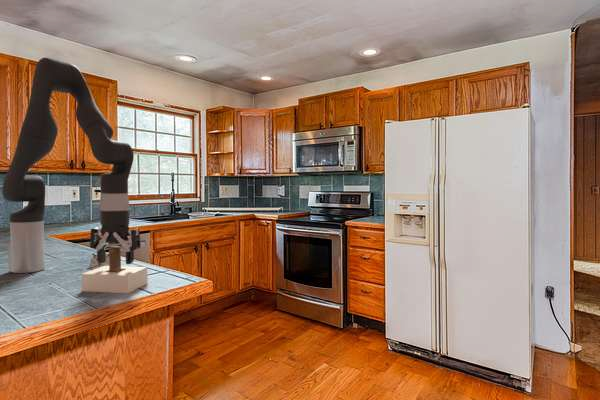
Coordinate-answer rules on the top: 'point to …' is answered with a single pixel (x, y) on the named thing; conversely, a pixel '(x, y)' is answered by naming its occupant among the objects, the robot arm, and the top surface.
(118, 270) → the peg
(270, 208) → the top surface
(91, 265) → the game die
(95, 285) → the hole block
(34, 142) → the robot arm
